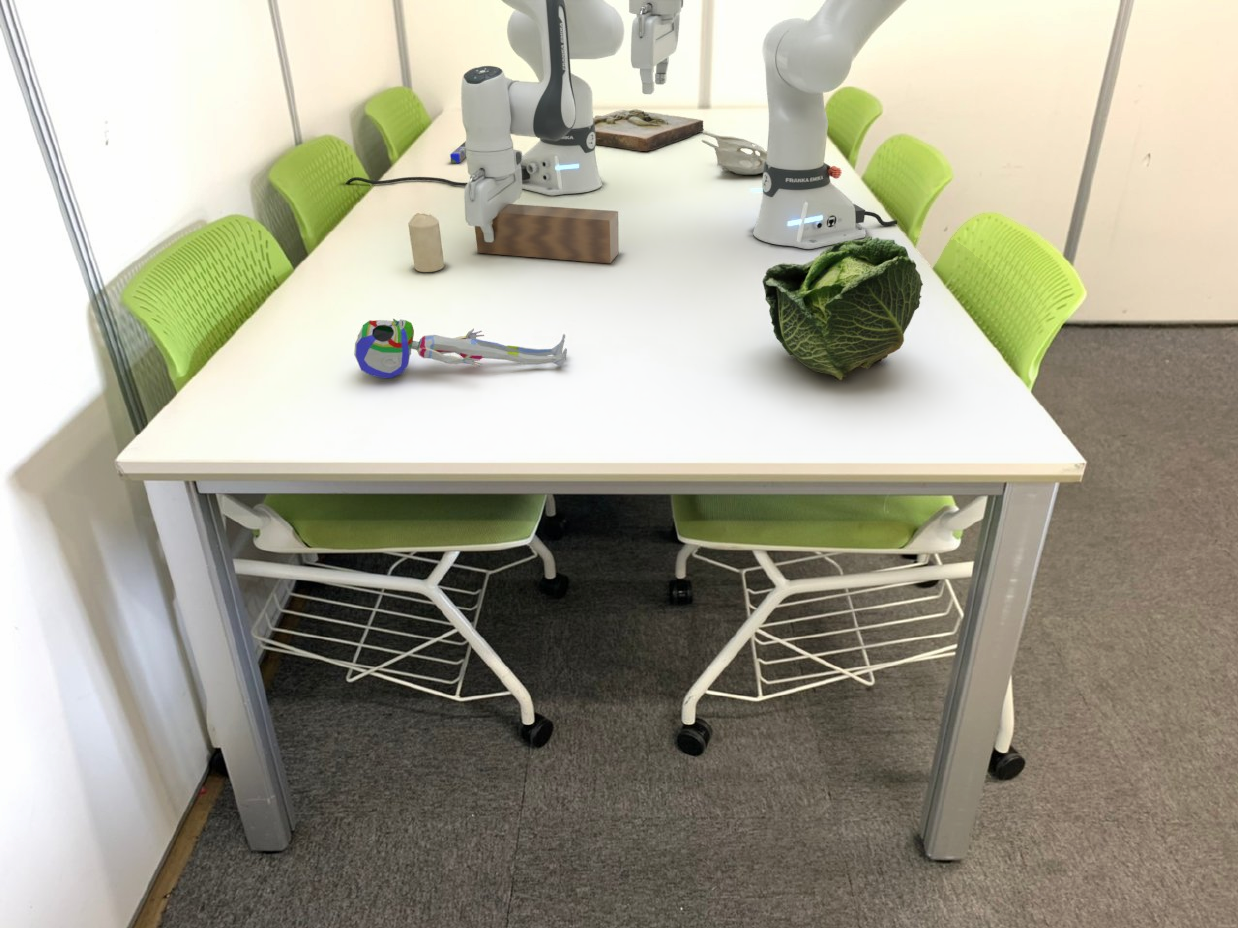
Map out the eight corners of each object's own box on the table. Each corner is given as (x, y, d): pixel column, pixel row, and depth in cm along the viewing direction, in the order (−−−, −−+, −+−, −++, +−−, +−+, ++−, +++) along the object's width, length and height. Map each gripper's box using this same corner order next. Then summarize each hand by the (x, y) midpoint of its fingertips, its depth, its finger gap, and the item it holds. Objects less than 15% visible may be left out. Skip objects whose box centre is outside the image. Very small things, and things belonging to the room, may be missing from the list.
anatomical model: (704, 128, 226) (804, 127, 222) (703, 165, 231) (801, 165, 227) (699, 142, 214) (805, 141, 210) (699, 181, 219) (803, 181, 215)
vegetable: (793, 390, 139) (734, 280, 131) (892, 320, 140) (840, 208, 132) (858, 421, 121) (795, 296, 113) (972, 341, 122) (917, 212, 114)
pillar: (477, 137, 250) (458, 155, 233) (478, 145, 251) (458, 163, 234) (469, 137, 250) (449, 154, 233) (470, 145, 251) (450, 163, 235)
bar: (477, 252, 175) (472, 211, 170) (488, 243, 180) (484, 202, 175) (610, 263, 168) (609, 220, 164) (618, 253, 173) (618, 211, 169)
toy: (569, 347, 126) (349, 329, 122) (563, 400, 131) (350, 385, 126) (565, 318, 135) (359, 301, 130) (559, 369, 139) (360, 354, 134)
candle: (449, 263, 170) (443, 211, 164) (435, 273, 165) (428, 220, 160) (423, 261, 171) (416, 208, 166) (409, 270, 167) (401, 217, 161)
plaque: (647, 125, 237) (559, 112, 252) (647, 153, 241) (560, 139, 256) (706, 107, 258) (622, 97, 273) (705, 133, 262) (622, 121, 277)
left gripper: (484, 178, 158) (492, 254, 166) (525, 150, 175) (530, 220, 182) (452, 176, 160) (460, 251, 167) (495, 148, 176) (501, 218, 184)
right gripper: (659, 7, 142) (658, 100, 149) (685, -5, 158) (683, 79, 166) (620, 7, 143) (622, 99, 151) (650, -5, 160) (650, 78, 167)
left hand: (497, 235), depth 175 cm, fingers closed on bar, 6 cm apart
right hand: (654, 88), depth 158 cm, fingers open, 8 cm apart
